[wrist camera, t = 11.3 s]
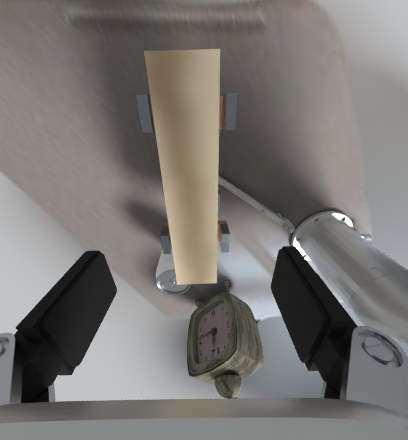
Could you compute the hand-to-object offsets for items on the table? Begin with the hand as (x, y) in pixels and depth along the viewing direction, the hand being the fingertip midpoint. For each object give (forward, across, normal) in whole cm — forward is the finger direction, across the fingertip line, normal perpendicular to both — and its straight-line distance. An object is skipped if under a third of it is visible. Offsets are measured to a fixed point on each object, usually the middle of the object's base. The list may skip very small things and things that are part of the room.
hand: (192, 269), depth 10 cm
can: (+25, +5, +16) cm, 30 cm away
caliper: (+26, -9, +6) cm, 28 cm away
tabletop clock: (+26, -4, +34) cm, 43 cm away
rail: (+14, +1, 0) cm, 14 cm away
